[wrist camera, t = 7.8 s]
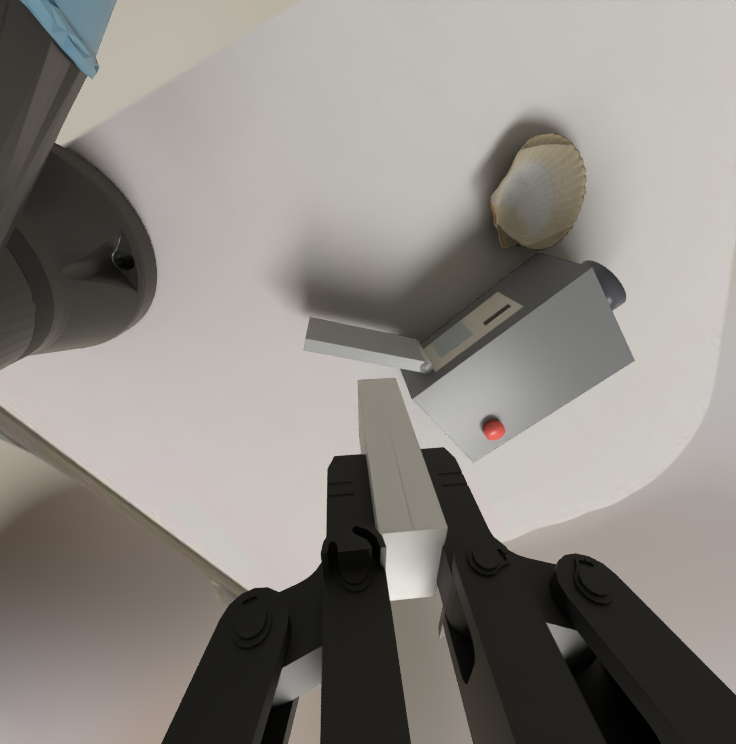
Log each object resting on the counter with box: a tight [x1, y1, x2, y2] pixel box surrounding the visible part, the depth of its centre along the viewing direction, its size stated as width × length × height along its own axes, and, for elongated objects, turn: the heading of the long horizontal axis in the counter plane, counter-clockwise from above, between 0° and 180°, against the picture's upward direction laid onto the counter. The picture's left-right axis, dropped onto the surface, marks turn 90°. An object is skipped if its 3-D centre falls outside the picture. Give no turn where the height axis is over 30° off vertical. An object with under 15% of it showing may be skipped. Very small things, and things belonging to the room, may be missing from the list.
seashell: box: [489, 133, 586, 250], centre depth 25 cm, size 8×3×8 cm
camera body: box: [400, 253, 635, 463], centre depth 29 cm, size 10×18×8 cm, turn 130°
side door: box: [304, 317, 433, 374], centre depth 28 cm, size 2×10×5 cm, turn 76°
